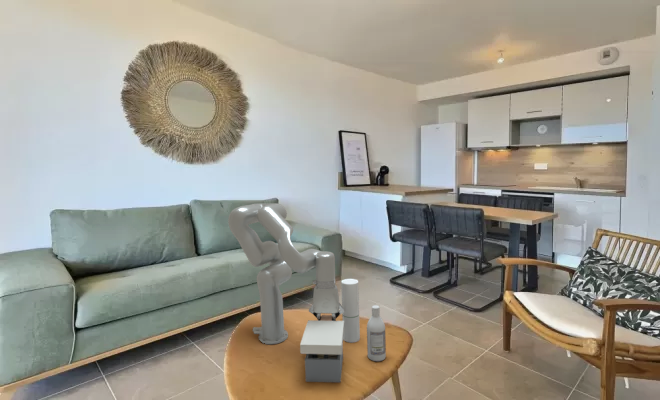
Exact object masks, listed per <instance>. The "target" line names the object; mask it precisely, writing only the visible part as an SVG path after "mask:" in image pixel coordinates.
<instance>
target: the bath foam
mask: <svg viewBox="0 0 660 400" xmlns="http://www.w3.org/2000/svg"><path fill="white" fill-rule="evenodd" d="M380 308H381V307H380V305H377V304H376V305H375V304H374V305H372V306H371V316H370V318H369V319H368V321H367V323H366V338H367V339H366V346H367V347H366V349H367V350H366V351H367V358H368V359H370V360H371V361H373V362H382V361H383V360H385V359H386V358H387V357H386V356H387V355H386V353H387V351H386V350H387V348H386V347H387V346H386V345H387V344H386V325H385V321H384V320H383V319H382V317H381V314H380V311H381V310H380Z"/></svg>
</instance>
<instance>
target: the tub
mask: <svg viewBox="0 0 660 400" xmlns="http://www.w3.org/2000/svg"><path fill="white" fill-rule="evenodd" d="M343 347H344V346H343ZM343 347H342V355H338V354H305V358H304V369H305V371H304V372H305V383H306V382H307V383H308V382H309V383H341V382H342V371H343V361H344V353H343V352H344V350H343V349H344V348H343Z"/></svg>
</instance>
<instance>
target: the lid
mask: <svg viewBox="0 0 660 400" xmlns="http://www.w3.org/2000/svg"><path fill="white" fill-rule="evenodd" d="M343 336H344V321H343V320H336V321H332V314H321V320H320V321H318V319H316V320H307V323H306V326H305V328H304V331H303V334H302V336H301V341H300V343H299V344H300V345H299V346H300V347H299V351H300V354H303V355H306V354H338V355H342V347H344V345H343V343H344V340H343Z"/></svg>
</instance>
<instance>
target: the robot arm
mask: <svg viewBox="0 0 660 400" xmlns="http://www.w3.org/2000/svg"><path fill="white" fill-rule="evenodd" d="M287 214H288V213H287V209H286V207H285V206H284V205H282V204H280V203H277V202H275V203H266V202H265V203H252V204H251V203H250V204H246V205H241V206H238V207H235V208H233V209H232V210H231V211H230V213H229V215H228V221H227V222H228V226H229V229H230V231H231V233H232V235H233V236H234V238H236V241H238V243H239V245H240V247H241V249H242V251H243V252H244V254H245V256H246V258H247V260H248V262H249V263H250V264H251V266H252V267H255V268H257V267H258V268H260V267H263V266H264V265H267V264H268V265H267V266H265V267H263V268H262V269H261V270H260V271H259V272H258V273H257V275H256V283H257V288H258V291H259V302H260V303H259V304H260V319H261V326H258V327H257V326H256V327H255V326H254V327H252V332H253V335H258V341H259V340H260V341H261V342H262V343H261V342H260V341H259V342H260V343H261V344H264V343H265V344H264V345H277V344H280V343H282V342H285V340H287V339H288V336H289V332H288V331H287V330H286V329H285V319H284V299H283V294H282V291H281V290H280V286H281V285H282V284H284V283H286V282H287V281H289V280H290V279H291V278H292V275H293V271H294V272H296V273H298V274H304V273H306V272H308V271H310V270H312V269H315V279H313V280H312V285H315V286H314V288H313V294H312V295H313V297H312V298H313V299H312V304H311V306H310V307H309V308H308V312H309V313H310V314H312V315H313V316H314V317H315V318H316V320H317V321H320V320H321V316H322V314H325V315H332V321H337V318H338V317H339V316H340V315H342V313H343V312H344V308H343V307H342V303H340V296H339V295H340V294H339V289H338V286H337V285H336V263H335V262H336V259H335V258H336V257H335V254H334V253H333V252H331V251H326V250H325V251H322V250H319V249H316V248H308V249H305V250H304V251H301V252H299V251H298V250H297V248H296V247H295V246H294V245H293V243H292V240H291V236H292V234H293V233H294V227H292V225H291V224H290V223H289V221H287V220H286V218H287ZM255 223H259V224H260V225H261V226H262V227H263V228H264V229H265V230H266V231H267V232H268V233H269V234H270V236H271V237H272V238H273V239H274V240H275V241H276V242H274V241H272V240H266V241H262V240H261V238H260V236H259V235H258V233H257V232H256V230H254V229H253V228H251V227H250V226H249V225H252V224H253V225H254V224H255Z"/></svg>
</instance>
